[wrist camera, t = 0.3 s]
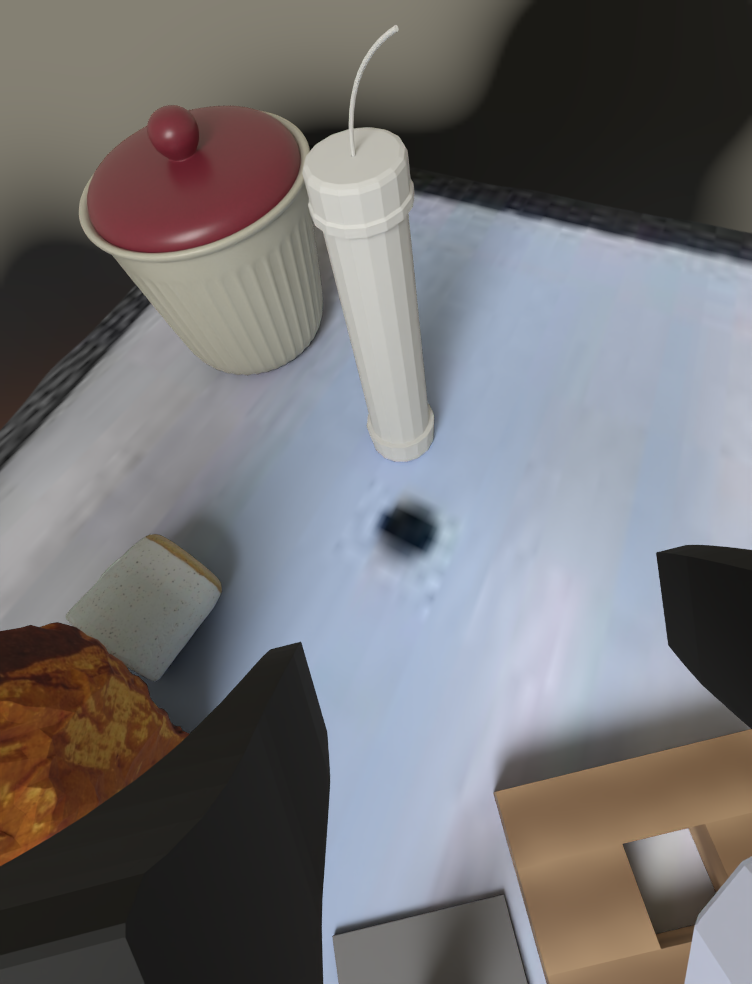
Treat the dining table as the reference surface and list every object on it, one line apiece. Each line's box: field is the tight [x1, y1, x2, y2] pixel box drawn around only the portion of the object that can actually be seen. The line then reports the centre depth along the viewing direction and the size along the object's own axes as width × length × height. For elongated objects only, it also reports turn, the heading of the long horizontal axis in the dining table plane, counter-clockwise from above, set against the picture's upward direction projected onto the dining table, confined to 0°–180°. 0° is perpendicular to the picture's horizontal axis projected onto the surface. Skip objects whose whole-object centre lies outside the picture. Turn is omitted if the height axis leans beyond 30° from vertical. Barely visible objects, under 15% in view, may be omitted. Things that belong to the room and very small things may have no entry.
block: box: [494, 729, 752, 984], centre depth 30 cm, size 12×16×3 cm
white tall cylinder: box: [302, 25, 434, 462], centre depth 35 cm, size 6×6×30 cm
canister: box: [79, 105, 323, 375], centre depth 48 cm, size 18×18×21 cm
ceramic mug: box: [66, 534, 222, 681], centre depth 41 cm, size 11×8×8 cm
